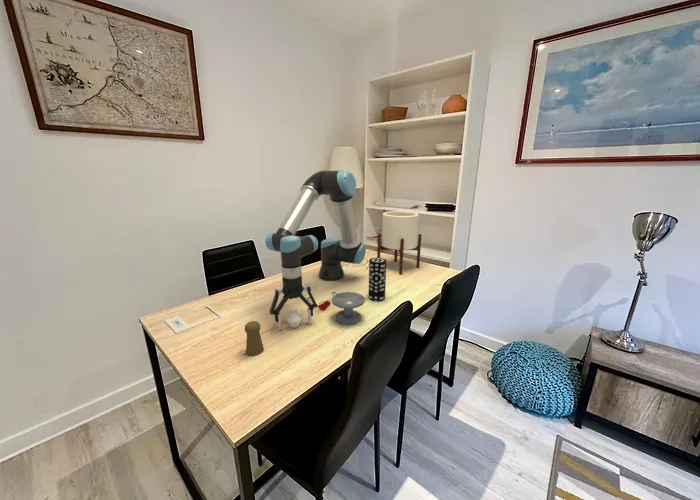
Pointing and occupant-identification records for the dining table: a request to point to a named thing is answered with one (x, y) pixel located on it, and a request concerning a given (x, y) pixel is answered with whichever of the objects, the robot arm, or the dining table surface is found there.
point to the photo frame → (181, 325)
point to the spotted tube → (377, 279)
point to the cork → (253, 339)
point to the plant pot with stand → (400, 234)
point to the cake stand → (348, 307)
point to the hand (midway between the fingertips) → (294, 325)
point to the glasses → (324, 304)
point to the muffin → (294, 319)
